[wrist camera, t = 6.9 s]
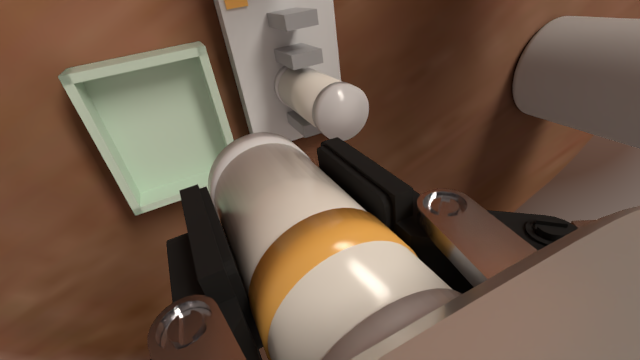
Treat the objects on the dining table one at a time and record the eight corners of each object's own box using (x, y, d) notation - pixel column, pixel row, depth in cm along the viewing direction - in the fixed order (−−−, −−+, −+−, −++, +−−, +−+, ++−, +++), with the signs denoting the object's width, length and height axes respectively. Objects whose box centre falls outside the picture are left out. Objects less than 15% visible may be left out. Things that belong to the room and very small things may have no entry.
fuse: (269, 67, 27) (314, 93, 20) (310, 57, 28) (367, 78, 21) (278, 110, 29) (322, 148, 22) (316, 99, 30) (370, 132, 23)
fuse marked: (192, 151, 11) (297, 454, 3) (297, 119, 12) (541, 296, 5) (225, 237, 13) (337, 547, 5) (313, 202, 14) (502, 420, 6)
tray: (66, 68, 23) (57, 76, 21) (199, 41, 26) (204, 45, 23) (135, 197, 29) (135, 215, 27) (237, 164, 32) (245, 178, 29)
